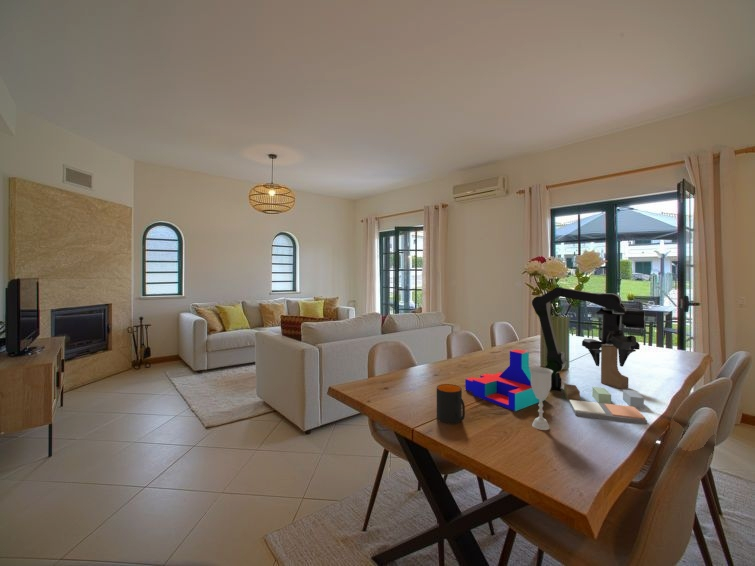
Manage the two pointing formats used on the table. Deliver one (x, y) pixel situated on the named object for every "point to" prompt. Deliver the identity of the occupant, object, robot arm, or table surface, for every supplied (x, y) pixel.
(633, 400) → the slate brick
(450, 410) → the mug
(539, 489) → the table surface
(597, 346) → the robot arm
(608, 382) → the wooden block
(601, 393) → the sage brick
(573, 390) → the walnut brick
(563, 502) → the table surface
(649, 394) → the table surface
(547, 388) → the chalice
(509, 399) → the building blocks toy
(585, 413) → the tile board
